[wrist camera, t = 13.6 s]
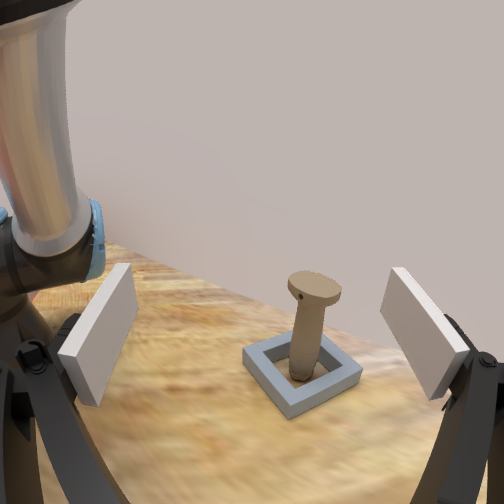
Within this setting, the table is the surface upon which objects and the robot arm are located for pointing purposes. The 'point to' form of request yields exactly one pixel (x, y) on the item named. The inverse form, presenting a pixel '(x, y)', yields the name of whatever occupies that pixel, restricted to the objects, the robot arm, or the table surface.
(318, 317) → the handle
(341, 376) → the socket block
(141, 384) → the table surface
